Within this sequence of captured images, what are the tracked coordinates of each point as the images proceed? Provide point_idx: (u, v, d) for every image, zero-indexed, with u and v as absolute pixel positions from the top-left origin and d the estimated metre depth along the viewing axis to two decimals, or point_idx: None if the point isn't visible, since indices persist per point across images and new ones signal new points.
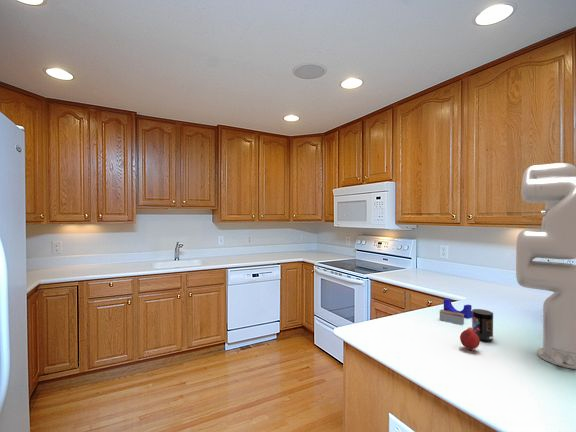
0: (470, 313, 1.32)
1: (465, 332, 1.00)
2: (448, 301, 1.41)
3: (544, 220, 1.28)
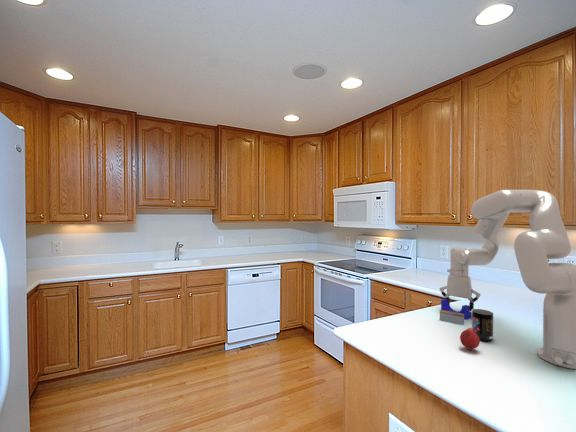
0: (468, 314, 1.31)
1: (465, 332, 1.00)
2: (445, 302, 1.40)
3: (448, 279, 1.40)
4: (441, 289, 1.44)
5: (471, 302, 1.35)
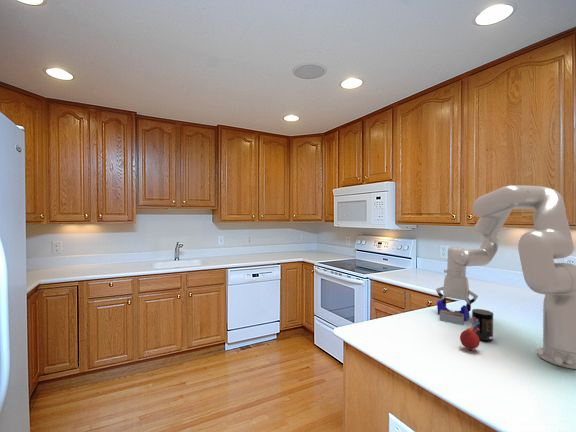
0: (466, 314, 1.29)
1: (465, 332, 1.00)
2: (441, 303, 1.36)
3: (445, 279, 1.36)
4: (437, 290, 1.40)
5: (468, 304, 1.31)
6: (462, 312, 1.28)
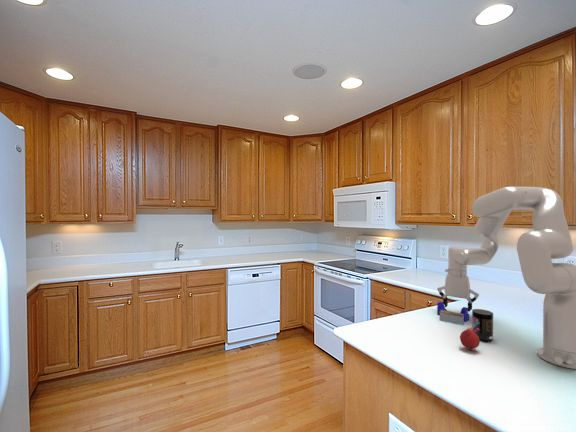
0: (467, 316, 1.28)
1: (465, 332, 1.00)
2: (442, 304, 1.36)
3: (446, 278, 1.37)
4: (439, 289, 1.41)
5: (469, 302, 1.32)
6: (462, 313, 1.27)
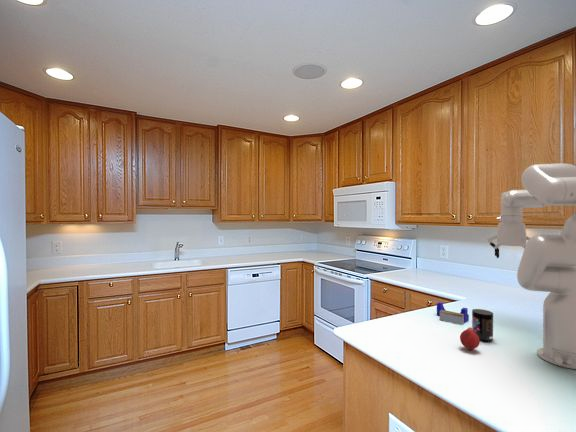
0: (466, 317, 1.27)
1: (465, 332, 1.00)
2: (441, 305, 1.35)
3: (499, 226, 1.27)
4: (489, 239, 1.30)
5: None
6: (462, 313, 1.27)
